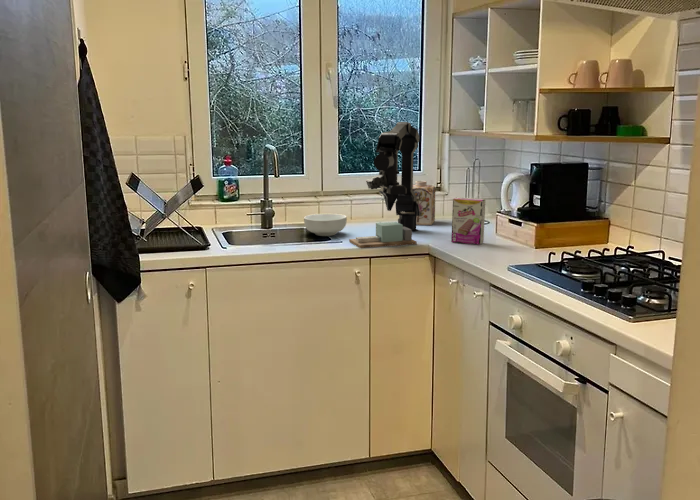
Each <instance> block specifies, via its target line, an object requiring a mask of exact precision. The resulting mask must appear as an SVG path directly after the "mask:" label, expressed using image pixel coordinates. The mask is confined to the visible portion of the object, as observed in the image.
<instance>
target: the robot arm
mask: <svg viewBox="0 0 700 500" xmlns="http://www.w3.org/2000/svg"><path fill="white" fill-rule="evenodd" d="M419 142H420V133H419V132H418V129H417V128H415V127H414V126H412V124H411V122H408V121H397V122H396V123H395V126H394V127H393V128H392V129H391V130H390V131H384V132H381V134H380V135H379V136H378V140H377V143H376V148H375V149H376V150H375V153H378V154H377V155H376V156H375V157H374V159H373V166H374V167H375V169H376V170H378V175H375V176H372V177H370V178H368V179H366V180H365V181H366V185H367V188H368V189H370V190H378V189H380V190H379V191H378V192H379V194H380V195H382V196H383V199H384V202H385V206H386V209H387V210H386V211H387V212H391V211H392V209H393V208H394V205H395V215H396V216H398V218H397V223H400V224H402V225H403V227H406V228H409V229H411V230H412V232H417V231H418V230H419V229H418V228H417V225H416V216H420V209H419V205H418V202H417V197H416V195H415V193H414V191H413V185H414V153H415V152H416V150H417V149H418V146H419ZM399 151H400V153H401V177H400V178H401V180H400V181H401V183H400V182H399V181H398V175H400V170H398V166H399V165H398V160H399V159H398V158H399V157H398V155H399ZM409 212H415V213H409Z"/></svg>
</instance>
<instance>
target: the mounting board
mask: <svg viewBox="0 0 700 500" xmlns="http://www.w3.org/2000/svg"><path fill="white" fill-rule="evenodd" d="M348 242H349V243H351V244H352V245H354V246H355V245H356V246H355V247H357V248H358V249H364V248H365V249H366V248H379V247H380V248H381V247H383V248H384V247H395V246H397V247H398V246H412V245H417V242H418V241H417V240H414V239H412V241H404V240H402V241H394V242H381V241H379V242H363V243H358V242H356V238H349V239H348Z"/></svg>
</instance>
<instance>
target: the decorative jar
mask: <svg viewBox="0 0 700 500" xmlns="http://www.w3.org/2000/svg"><path fill="white" fill-rule="evenodd" d="M413 191H414V193H415V195H416V197H417V202H418V205H419V209H420V216H416V226H432V225H433V224H434V222H435V220H436V192H437V191H436V187H435V186H434V185H431V184H427V181H426V180H416V181H415V184H413ZM409 213H415V212H409Z"/></svg>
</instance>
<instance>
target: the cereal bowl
mask: <svg viewBox="0 0 700 500" xmlns="http://www.w3.org/2000/svg"><path fill="white" fill-rule="evenodd" d="M303 222H304V227H305V228H306V230H307V231H308V232H310V233H312V234H315V235H316V236H320V237H329V236H331V237H332V236H335V235H336V234H337V233H339V232H341V231H343V230H344V229H345V228H346V225H347V215H345V214H339V213H313V214H308V215H305V216H304V217H303Z"/></svg>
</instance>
